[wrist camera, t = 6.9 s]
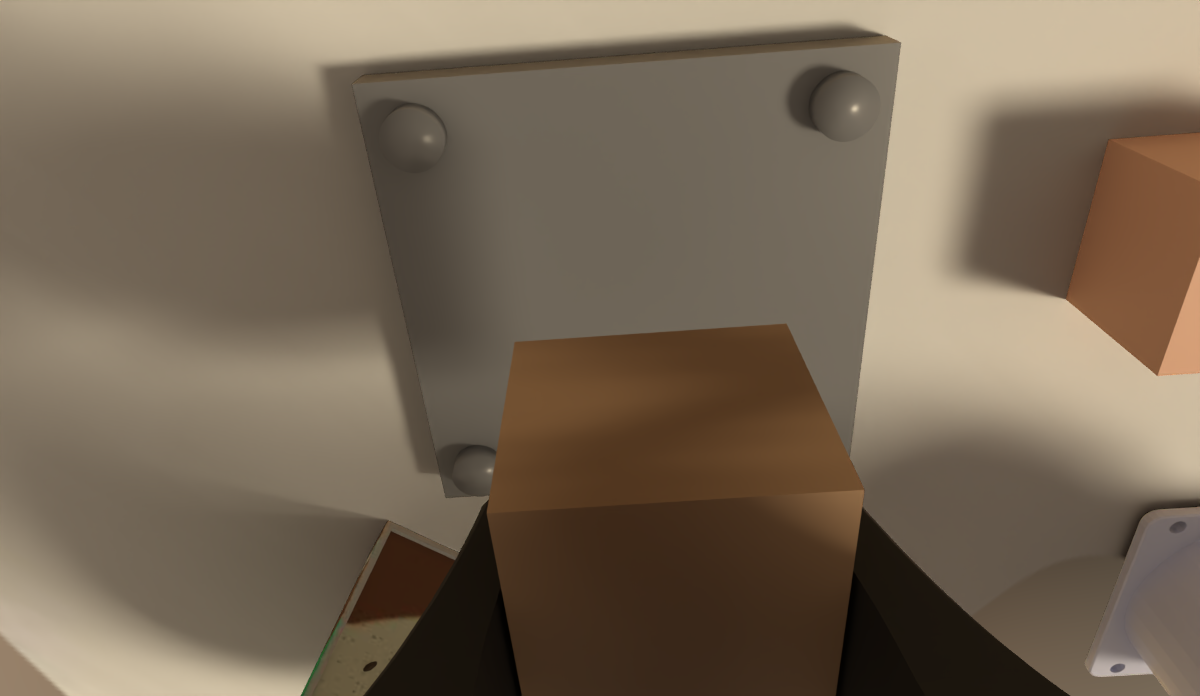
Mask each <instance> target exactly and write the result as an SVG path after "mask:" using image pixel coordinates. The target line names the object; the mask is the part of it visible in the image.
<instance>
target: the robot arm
mask: <svg viewBox="0 0 1200 696" xmlns="http://www.w3.org/2000/svg"><path fill="white" fill-rule="evenodd" d="M488 502H489V500H488V501H487V502H486V503H485V504H484V505H483V506H482V508H481V510H480V513H479V515H478V517H477V519H476V521H475V523H474V525H473V527H472V529H471V531H470V533H469V535H468V537H467V539H466V541H465V543H464V545H463V547H462V548H461V550H460V552H459V554H458V556H457V558H456V559H455V561H454V563H453V565H452V567H451V568H450V570H449V572H448V573H447V575H446V577H445V578H444V580H443V582H442V583H441V585H440V587H439V588H438V590H437V592H436V593H435V595H434V597H433V598H432V600H431V602H430V603H429V605H428V606H427V608H426V609H425V611H424V612H423V614H422V615H421V617H420V618H419V620H418V621H417V623H416V624H415V626H414V627H413V629H412V630H411V632H410V633H409V635H408V636H407V638H406V639H405V641H404V642H403V643H402V645H401V646H400V648H399V649H398V651H397V652H396V653H395V655H394V656H393V658H392V659H391V660H390V662H389V663H388V664H387V666H386V667H385V668H384V670H383V671H382V672H381V674H380V675H379V676H378V678H377V679H376V680H375V681H374V683H373V684H372V685H371V686H370V688H369V689H368V690H367V691H366V693H365V694H364V695H363V696H522V693H521V688H520V683H519V678H518V673H517V667H516V662H515V657H514V652H513V647H512V642H511V636H510V631H509V626H508V621H507V616H506V611H505V606H504V600H503V595H502V590H501V585H500V580H499V575H498V569H497V564H496V559H495V554H494V549H493V544H492V539H491V533H490V528H489V523H488V518H487V508H488ZM1085 666H1086V668H1087V669H1088V671H1089V672H1090V674H1091V675H1093V676H1099V677H1105V676H1123V675H1139V674H1140V675H1141V674H1154V675H1155V676H1156V678H1157V679H1158V680H1159V682H1160V683H1161V685H1162V686H1163V688H1164V689H1165V690H1166V692H1167V693H1168V694H1169V696H1200V507H1190V508H1173V509H1158V510H1153V511H1151V512H1148V513H1147V514H1145V515H1144V516H1143V517H1142V519H1141V520H1140V522H1139V525H1138V527H1137V530H1136V532H1135V535H1134V537H1133V540H1132V543H1131V545H1130V548H1129V550H1128V553H1127V555H1126V558H1125V560H1124V563H1123V566H1122V568H1121V571H1120V573H1119V576H1118V578H1117V581H1116V584H1115V586H1114V588H1113V591H1112V594H1111V596H1110V599H1109V601H1108V604H1107V606H1106V609H1105V611H1104V614H1103V617H1102V619H1101V622H1100V624H1099V627H1098V630H1097V632H1096V634H1095V637H1094V640H1093V642H1092V645H1091V647H1090V650H1089V652H1088V655H1087V658H1086V660H1085ZM836 696H1070V695H1068V694H1067V693H1066V692H1064V691H1063V690H1061V689H1060V688H1058V687H1057V686H1056V685H1054V684H1053V683H1051V682H1050V681H1049V680H1048V679H1046V678H1045V677H1044V676H1042V675H1041V674H1040V673H1038V672H1037V671H1036V670H1034V669H1033V668H1032V667H1030V666H1029V665H1028V664H1027V663H1026V662H1024V661H1023V660H1022V659H1021V658H1019V657H1018V656H1017V655H1016V654H1014V653H1013V652H1012V651H1011V650H1009V649H1008V648H1007V647H1006V646H1004V645H1003V644H1002V643H1001V642H1000V641H998V640H997V639H996V638H995V637H994V636H992V635H991V634H990V633H989V632H988V631H987V630H986V629H984V628H983V627H982V626H981V625H980V624H979V623H977V622H976V621H975V620H974V619H973V618H972V617H971V616H970V615H969V614H968V613H966V612H965V611H964V610H963V609H962V608H961V607H960V606H959V605H958V604H957V603H955V602H954V601H953V600H952V599H951V598H950V597H949V596H948V595H947V594H946V593H945V592H944V591H943V590H942V589H941V588H940V587H939V586H937V585H936V584H935V583H934V582H933V581H932V580H931V579H930V578H929V577H928V576H927V575H926V574H925V573H924V572H923V571H922V570H921V569H920V568H919V567H918V566H917V565H916V564H915V563H914V562H913V561H912V560H911V559H910V558H909V557H908V556H907V555H906V553H905V552H904V551H903V550H902V549H901V548H900V547H899V546H898V545H897V544H896V543H895V542H894V541H893V540H892V539H891V538H890V537H889V536H888V534H887V533H886V532H885V531H884V530H883V529H882V528H881V527H880V526H879V525H878V524H877V522H876V521H875V520H874V519H873V518H872V517H871V516H870V515H869V514H868V512H867V511H866V510H865V509H864V508H863V507H862V512H861V519H860V526H859V533H858V540H857V547H856V554H855V561H854V569H853V576H852V583H851V590H850V597H849V604H848V611H847V618H846V625H845V633H844V640H843V647H842V654H841V661H840V668H839V675H838V682H837V689H836Z"/></svg>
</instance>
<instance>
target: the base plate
mask: <svg viewBox="0 0 1200 696" xmlns="http://www.w3.org/2000/svg"><path fill="white" fill-rule="evenodd" d="M900 47H901V42H899V41H897V40H894V39H892V38H890V37H888V36H886V35H884V36H871V37H858V38H845V39H831V40H818V41H805V42H792V43H779V44H766V45H752V46H739V47H726V48H713V49H700V50H687V51H673V52H660V53H647V54H634V55H621V56H608V57H594V58H581V59H568V60H555V61H542V62H528V63H515V64H502V65H489V66H476V67H463V68H449V69H436V70H423V71H410V72H397V73H384V74H370V75H363V76H361V77H360V78H359V79H358V80H356V81H355V82H354V83H352V88H353V92H354V97H355V101H356V106H357V110H358V114H359V119H360V123H361V128H362V132H363V136H364V141H365V145H366V150H367V154H368V158H369V163H370V167H371V172H372V176H373V180H374V185H375V189H376V194H377V198H378V202H379V207H380V211H381V216H382V220H383V224H384V229H385V233H386V238H387V242H388V246H389V251H390V255H391V260H392V264H393V268H394V273H395V277H396V282H397V286H398V290H399V295H400V299H401V303H402V308H403V312H404V317H405V321H406V325H407V330H408V334H409V339H410V343H411V347H412V352H413V356H414V361H415V365H416V369H417V374H418V378H419V383H420V387H421V391H422V396H423V400H424V405H425V409H426V413H427V418H428V422H429V427H430V431H431V435H432V440H433V444H434V449H435V453H436V457H437V462H438V466H439V471H440V475H441V479H442V484H443V488H444V493H445V497H446V498H453V497H469V496H486V495H490V490H491V484H492V477H493V471H494V465H495V459H496V453H497V447H498V441H499V435H500V429H501V422H502V416H503V410H504V404H505V398H506V392H507V386H508V380H509V374H510V368H511V361H512V355H513V349H514V343H515V342H521V341H535V340H550V339H565V338H580V337H595V336H610V335H624V334H639V333H654V332H669V331H684V330H698V329H713V328H728V327H743V326H758V325H772V324H787V325H788V328H789V330H790V332H791V334H792V336H793V338H794V340H795V342H796V345H797V347H798V349H799V351H800V353H801V355H802V357H803V360H804V362H805V364H806V366H807V368H808V370H809V372H810V374H811V377H812V379H813V381H814V383H815V385H816V387H817V389H818V392H819V394H820V396H821V398H822V400H823V402H824V404H825V406H826V409H827V411H828V413H829V415H830V417H831V419H832V421H833V424H834V426H835V428H836V430H837V432H838V434H839V436H840V438H841V441H842V443H843V445H844V447H845V449H846V451H847V453H848V456H849V458H850V450H851V442H852V434H853V426H854V418H855V410H856V402H857V394H858V386H859V378H860V370H861V362H862V354H863V346H864V337H865V329H866V321H867V313H868V305H869V297H870V289H871V281H872V273H873V265H874V257H875V249H876V241H877V233H878V225H879V217H880V209H881V200H882V192H883V184H884V176H885V168H886V160H887V152H888V144H889V136H890V128H891V120H892V112H893V104H894V96H895V88H896V80H897V72H898V63H899V55H900Z"/></svg>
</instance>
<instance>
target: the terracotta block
mask: <svg viewBox="0 0 1200 696" xmlns="http://www.w3.org/2000/svg"><path fill="white" fill-rule="evenodd" d="M1066 300H1067V301H1069V302H1070V303H1071V304H1072V305H1073V306H1075V307H1076V308H1077V309H1078V310H1079V311H1081V312H1082V313H1083V314H1084V315H1085V316H1087V317H1088V318H1089V319H1090V320H1091V321H1093V322H1094V323H1095V324H1096V325H1097V326H1099V327H1100V328H1101V329H1102V330H1103V331H1104V332H1106V333H1107V334H1108V335H1109V336H1110V337H1112V338H1113V339H1114V340H1115V341H1116V342H1118V343H1119V344H1120V345H1121V346H1122V347H1124V348H1125V349H1126V350H1127V351H1128V352H1130V353H1131V354H1132V355H1133V356H1134V357H1136V358H1137V359H1138V360H1139V361H1140V362H1142V363H1143V364H1144V365H1145V366H1146V367H1148V368H1149V369H1150V370H1151V371H1152V372H1153V373H1155V374H1156V375H1157V376H1162V375H1177V374H1192V373H1200V132H1199V133H1185V134H1172V135H1159V136H1146V137H1132V138H1119V139H1109V140H1108V144H1107V148H1106V151H1105V155H1104V159H1103V163H1102V166H1101V170H1100V174H1099V178H1098V181H1097V185H1096V189H1095V192H1094V196H1093V200H1092V204H1091V207H1090V211H1089V215H1088V219H1087V222H1086V226H1085V230H1084V234H1083V237H1082V241H1081V245H1080V249H1079V252H1078V256H1077V260H1076V263H1075V267H1074V271H1073V275H1072V278H1071V282H1070V286H1069V290H1068V293H1067V297H1066Z"/></svg>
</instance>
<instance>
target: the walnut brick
mask: <svg viewBox="0 0 1200 696" xmlns="http://www.w3.org/2000/svg"><path fill="white" fill-rule="evenodd" d="M863 498H864V488H863V485H862V483H861V481H860V479H859V477H858V475H857V473H856V470H855V468H854V466H853V464H852V462H851V460H850V458H849V456H848V453H847V451H846V449H845V447H844V445H843V443H842V441H841V438H840V436H839V434H838V432H837V430H836V428H835V426H834V424H833V421H832V419H831V417H830V415H829V413H828V411H827V409H826V406H825V404H824V402H823V400H822V398H821V396H820V394H819V392H818V389H817V387H816V385H815V383H814V381H813V379H812V377H811V374H810V372H809V370H808V368H807V366H806V364H805V362H804V360H803V357H802V355H801V353H800V351H799V349H798V347H797V345H796V342H795V340H794V338H793V336H792V334H791V332H790V330H789V328H788V325H787V324H772V325H758V326H743V327H728V328H713V329H698V330H684V331H669V332H654V333H639V334H624V335H610V336H595V337H580V338H565V339H550V340H535V341H521V342H515V343H514V349H513V355H512V361H511V368H510V374H509V380H508V386H507V392H506V398H505V404H504V410H503V416H502V422H501V429H500V435H499V441H498V447H497V453H496V459H495V465H494V471H493V477H492V484H491V490H490V496H489V502H488V508H487V518H488V523H489V528H490V533H491V539H492V544H493V549H494V554H495V559H496V564H497V569H498V575H499V580H500V585H501V590H502V595H503V600H504V606H505V611H506V616H507V621H508V626H509V631H510V636H511V642H512V647H513V652H514V657H515V662H516V667H517V673H518V678H519V683H520V688H521V693H522V696H836V689H837V682H838V675H839V668H840V661H841V654H842V647H843V640H844V633H845V625H846V618H847V611H848V604H849V597H850V590H851V583H852V576H853V569H854V561H855V554H856V547H857V540H858V533H859V526H860V519H861V512H862V505H863Z"/></svg>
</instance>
